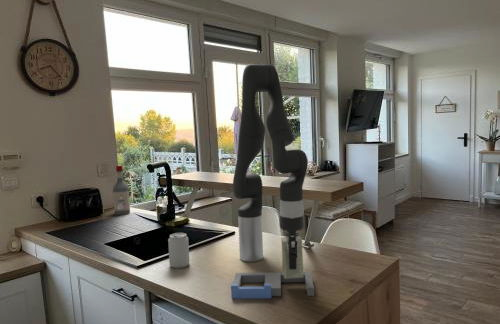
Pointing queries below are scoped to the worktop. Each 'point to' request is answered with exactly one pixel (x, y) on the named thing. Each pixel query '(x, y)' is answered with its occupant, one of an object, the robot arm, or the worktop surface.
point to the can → (178, 250)
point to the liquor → (121, 194)
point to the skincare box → (285, 260)
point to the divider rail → (266, 285)
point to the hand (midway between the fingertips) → (292, 265)
